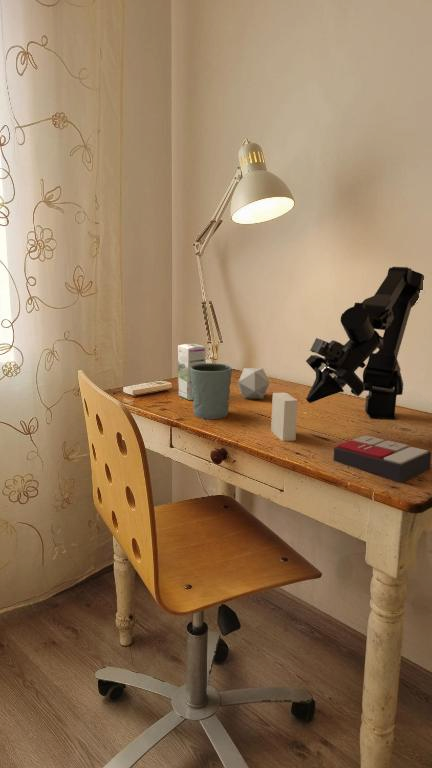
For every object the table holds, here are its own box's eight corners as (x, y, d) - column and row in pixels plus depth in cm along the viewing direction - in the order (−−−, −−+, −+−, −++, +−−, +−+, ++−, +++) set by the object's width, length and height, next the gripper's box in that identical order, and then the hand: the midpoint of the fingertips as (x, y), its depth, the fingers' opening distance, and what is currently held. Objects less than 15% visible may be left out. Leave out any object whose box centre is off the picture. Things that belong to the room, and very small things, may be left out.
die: (258, 405, 155) (278, 374, 156) (230, 388, 156) (250, 357, 157) (256, 408, 164) (274, 379, 165) (229, 391, 164) (248, 362, 165)
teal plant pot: (238, 414, 144) (240, 367, 142) (211, 422, 137) (212, 373, 134) (209, 406, 151) (209, 361, 148) (181, 413, 144) (181, 366, 141)
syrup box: (205, 398, 159) (207, 346, 156) (187, 400, 156) (188, 347, 153) (194, 393, 164) (195, 342, 160) (176, 396, 160) (177, 344, 157)
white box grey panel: (284, 430, 133) (286, 392, 131) (296, 440, 126) (298, 400, 124) (271, 431, 132) (272, 393, 130) (282, 441, 125) (284, 400, 123)
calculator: (364, 433, 121) (432, 448, 110) (363, 452, 122) (431, 470, 111) (332, 443, 114) (402, 461, 103) (332, 464, 115) (401, 484, 104)
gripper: (316, 320, 135) (269, 368, 134) (356, 332, 117) (302, 387, 117) (344, 353, 139) (299, 399, 138) (386, 368, 121) (335, 422, 121)
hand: (307, 401), depth 129 cm, fingers closed
